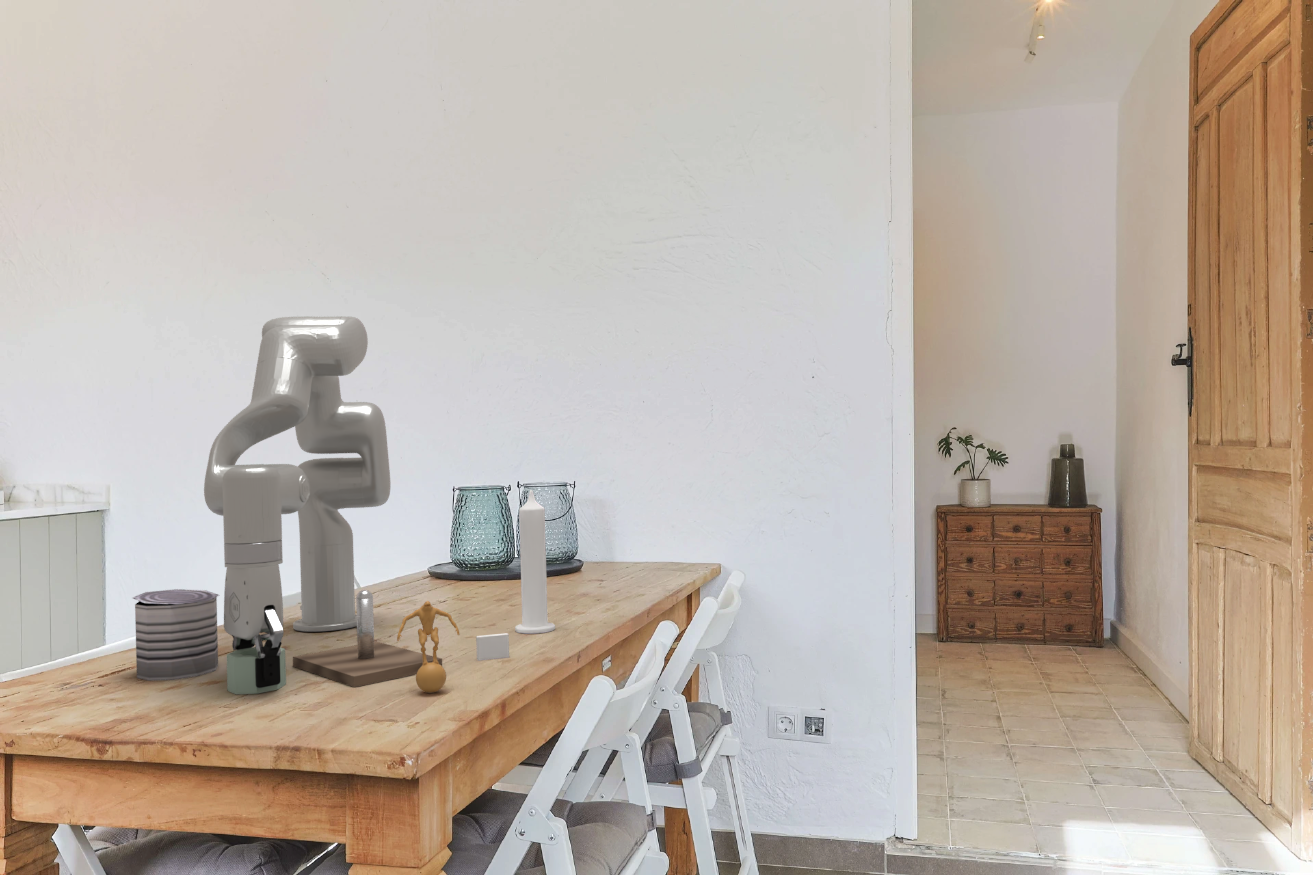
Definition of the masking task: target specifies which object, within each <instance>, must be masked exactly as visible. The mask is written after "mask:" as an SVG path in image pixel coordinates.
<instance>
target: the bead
mask: <svg viewBox="0 0 1313 875" xmlns="http://www.w3.org/2000/svg"><path fill="white" fill-rule="evenodd" d="M280 649H281V655H280V683H279V684H278V685H273V686H268V687H262V688H258V687H256V678H255V658H258V655H257V650H256V646H254V647H252V648H246V649H240V650H233V651H231V652H229V653H227V654H226V680H227V682H226V683H227V686H226V687H227V692H229V693H231V694H233V695H257V694H262V693H267V692H271V691H276V690H279V689H281V688H282V687H284V686H286V685H287V671H286V670H287V669H286V668H287V667H286V649H285V648H283V647H280Z"/></svg>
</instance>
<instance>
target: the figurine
mask: <svg viewBox="0 0 1313 875" xmlns="http://www.w3.org/2000/svg"><path fill="white" fill-rule="evenodd" d="M437 615H438V616H442V617H447V618H448V621H449V622H450V623H451V625H452V626H453V628H454V629H455V632H456V635H457V636H460V629H459V627H458V626H457V623H456V622H455V621H454V619H453V618H452V615H451V614H450V613H449V612H446V611H445V610H444V611H443V610H441V609H439V608H438V607H434V606H432V604H431V602H430V601H429V600H426V601H425V602H424V603H423V605H421V606H420V607H419V608H418V609H416V610H414V611H413V612H411V613H410V614H408V615H406V616H405V617H403V619H402V621H401V625H400V628H399V630H398V632H397V635H396V640H397V642H399V641H401V638H402V637H403V636H402V632H403V630H404V628H405V625H406V623H407V621H409V620H411V619H414V618H416V617H418V619H419V620H420V624H421V626H422V628H419V629H418V630H417V634H418V642H419V644H420V646H421V647H420V651H421V652H420V653H422V657H423V665H422V666H421V667H420V668H419V670H418V672H417V674H415V682H416V685H417V687H418V688H419V690H421V691H423V692H424V693H428V694H431V693H432V694H433V693H437V692H439V691H440V690H441V689H442V688H443V687H444V686H445V684H446V681H447V672H446V670H445V668H444V667H443V665H442V666H441V665H440V664H439V663H438V661H437V657H438V656H437V655H438V654H437V651H438V650H439V645H440V644H439V643H440V638H439V628H438V627H437V626H435V627H433V626H434V622H435V619H436V616H437ZM428 636H430V640H431V641H432V642H433V644H434V645H433V647H432V656H433V662H430V663H428V662H427V659H426V655H427V653H426V651H427V648H426V642H427V640H428Z"/></svg>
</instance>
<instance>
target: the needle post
mask: <svg viewBox="0 0 1313 875" xmlns="http://www.w3.org/2000/svg"><path fill="white" fill-rule="evenodd" d="M355 599H356V600H355V601H356V602H355V603H356V615H357V626H356V632H357V633H356V634H357V635H356V636H357V638H356V639H357V645H358V659H371V658H374V642H375V633H374V632H375V630H374V629H375V628H374V624H375V622H374V594H373V593H372V592H371V591H370V590H367V589H362V590H361V591H358V593H357V594H356V598H355Z"/></svg>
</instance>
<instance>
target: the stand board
mask: <svg viewBox="0 0 1313 875" xmlns="http://www.w3.org/2000/svg"><path fill="white" fill-rule="evenodd" d="M426 659H427V662H428V663H430V662H433V655H431V654H426ZM437 661H438V663H439V664H440V665H441V666H442V667H443V658H441V657H438V656H437ZM422 665H423V657H422V652H418V651H414V650H411V649H406V648H403V647H399V646H395V645H392V644H387V643H384V642H380V641H374V658H371V659H358V644H356V645H350V646H344V647H337V648H333V649H326V650H321V651H316V652H310V653H306V654H299V655H294V656H292V667H294V668H297V669H300V670H303V671H306V672H308V673H312V674H315V675H317V676H319V677H324V678H326V679H329V680H331V681H335V682H337V683H341V684H343V685H346V686H349V687H352V688H357V687H358V688H359V687H362V686H366V685H367V686H368V685H371V684H375V683H381V682H386V681H391V680H396V679H400V678H405V677H411V676H414V675H415V676H416V674H417V672H418V670H419V668H420V667H421V666H422Z"/></svg>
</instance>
